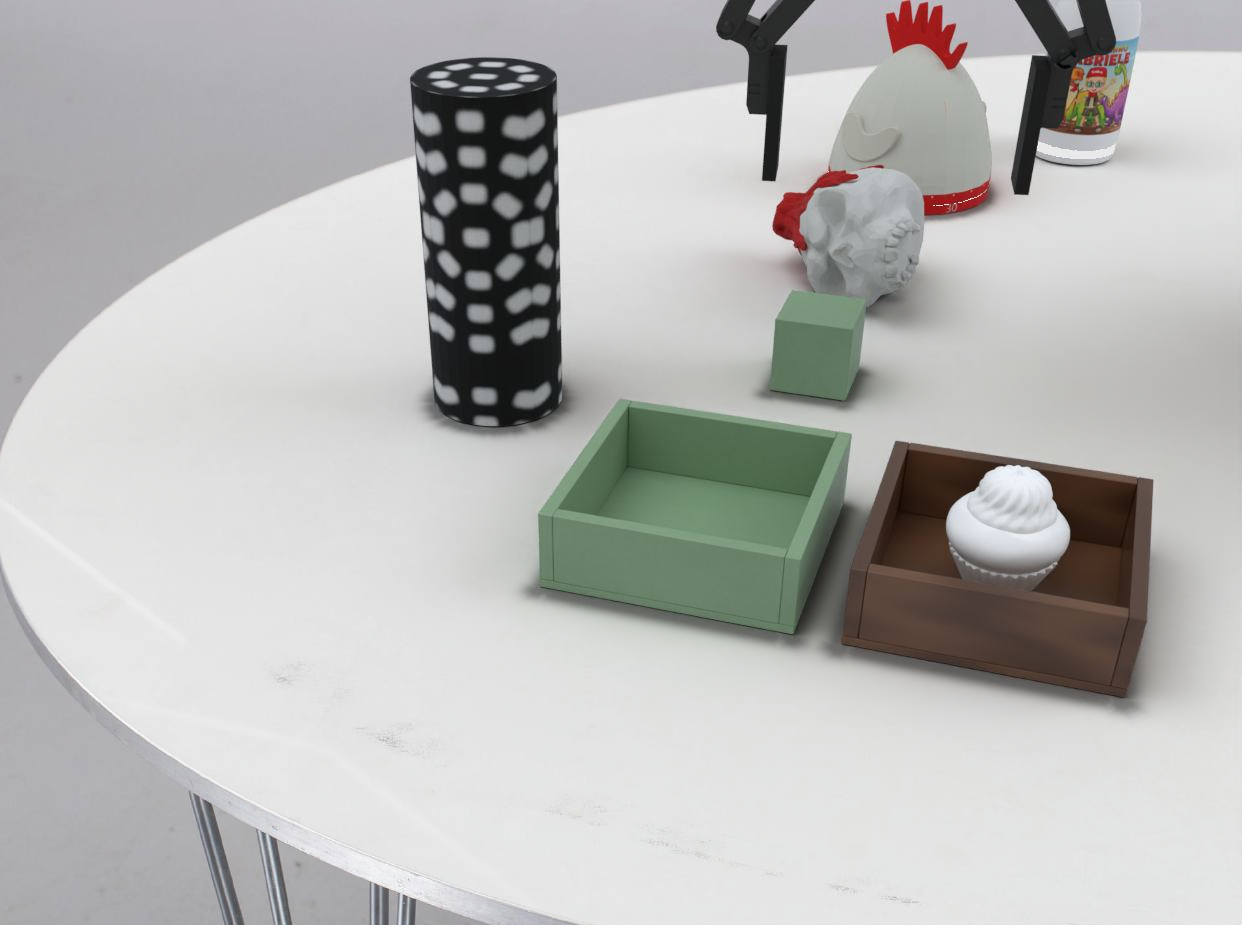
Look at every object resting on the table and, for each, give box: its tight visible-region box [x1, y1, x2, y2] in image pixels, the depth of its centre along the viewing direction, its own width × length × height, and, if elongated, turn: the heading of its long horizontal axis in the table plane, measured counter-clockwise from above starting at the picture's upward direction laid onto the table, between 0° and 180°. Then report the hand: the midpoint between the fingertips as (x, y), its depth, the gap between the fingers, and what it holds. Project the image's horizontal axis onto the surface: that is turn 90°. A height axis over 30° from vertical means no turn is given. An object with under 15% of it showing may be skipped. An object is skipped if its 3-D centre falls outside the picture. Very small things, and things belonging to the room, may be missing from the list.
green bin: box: [537, 398, 853, 635], centre depth 78 cm, size 14×14×4 cm
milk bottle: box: [1036, 0, 1143, 166], centre depth 127 cm, size 8×8×20 cm
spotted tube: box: [409, 56, 563, 427], centre depth 87 cm, size 8×8×20 cm
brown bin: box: [840, 440, 1154, 698], centre depth 73 cm, size 14×14×4 cm
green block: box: [769, 289, 867, 402], centre depth 94 cm, size 5×5×5 cm
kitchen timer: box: [827, 0, 993, 216], centre depth 121 cm, size 14×14×15 cm
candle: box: [771, 165, 925, 308], centre depth 106 cm, size 9×11×15 cm
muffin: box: [946, 465, 1070, 591], centre depth 72 cm, size 6×6×7 cm
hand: (893, 180), depth 79 cm, fingers open, 13 cm apart
